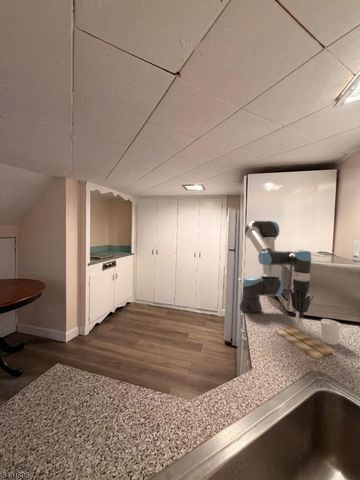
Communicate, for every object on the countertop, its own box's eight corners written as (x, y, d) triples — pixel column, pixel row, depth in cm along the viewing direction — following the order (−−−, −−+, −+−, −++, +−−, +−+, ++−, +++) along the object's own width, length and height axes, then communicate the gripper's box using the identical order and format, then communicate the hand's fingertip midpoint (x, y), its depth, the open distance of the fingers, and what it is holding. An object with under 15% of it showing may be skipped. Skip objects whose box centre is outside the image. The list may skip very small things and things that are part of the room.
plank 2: (302, 342, 101) (302, 340, 101) (311, 340, 103) (311, 337, 103) (323, 355, 91) (323, 353, 91) (333, 352, 92) (333, 349, 92)
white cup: (339, 347, 98) (340, 327, 98) (319, 342, 103) (320, 322, 102) (339, 340, 104) (340, 321, 104) (320, 335, 109) (321, 317, 109)
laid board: (275, 332, 112) (275, 330, 112) (282, 331, 113) (282, 329, 113) (315, 358, 89) (315, 355, 89) (323, 357, 90) (323, 354, 90)
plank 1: (283, 331, 113) (283, 329, 113) (292, 329, 114) (292, 327, 114) (300, 341, 102) (300, 339, 102) (309, 339, 104) (309, 336, 104)
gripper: (286, 277, 113) (283, 318, 114) (306, 283, 100) (303, 329, 102) (296, 276, 115) (294, 316, 116) (318, 282, 103) (315, 327, 104)
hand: (298, 322), depth 109 cm, fingers closed
